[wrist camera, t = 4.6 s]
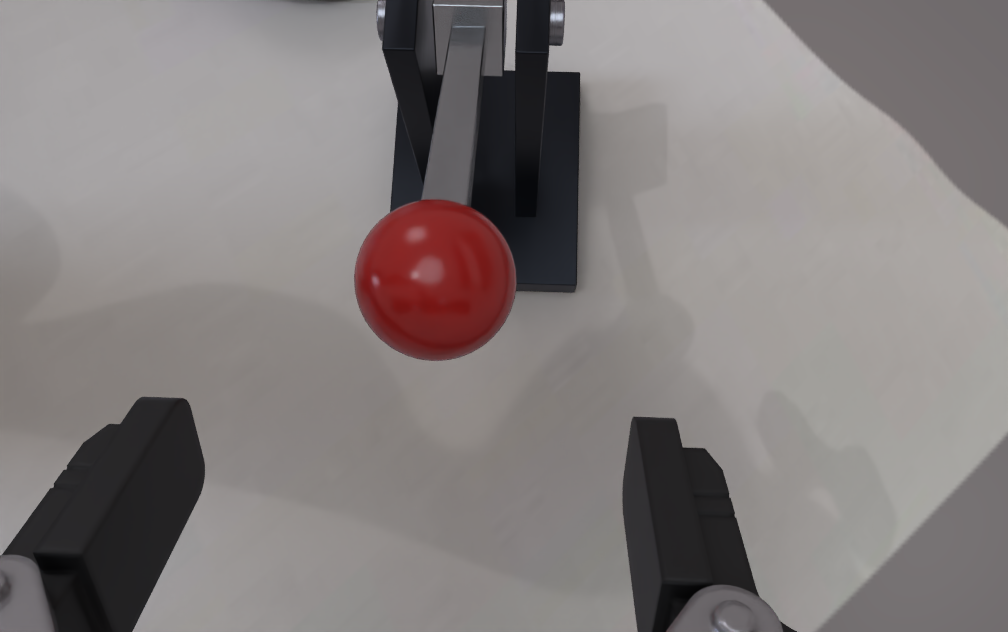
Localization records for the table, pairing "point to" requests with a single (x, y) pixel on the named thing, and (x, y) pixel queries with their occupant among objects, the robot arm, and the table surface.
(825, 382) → the table surface
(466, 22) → the lever
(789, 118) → the table surface
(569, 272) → the switch bracket
